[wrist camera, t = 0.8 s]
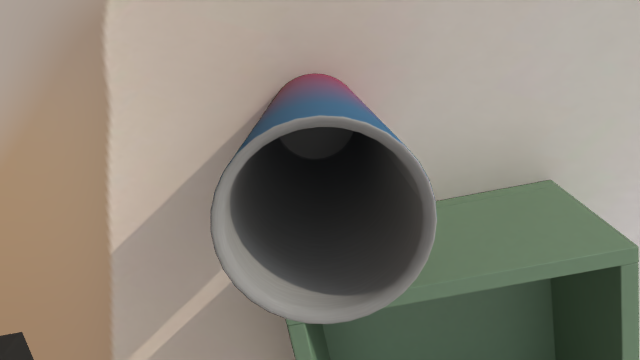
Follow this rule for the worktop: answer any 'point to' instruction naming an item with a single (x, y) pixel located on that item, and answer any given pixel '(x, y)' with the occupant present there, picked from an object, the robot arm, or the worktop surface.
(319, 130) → the cup
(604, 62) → the worktop surface
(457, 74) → the worktop surface
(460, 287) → the bin
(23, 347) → the robot arm
